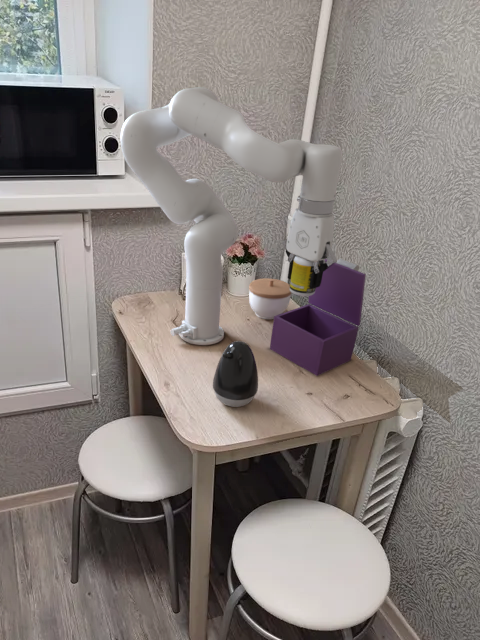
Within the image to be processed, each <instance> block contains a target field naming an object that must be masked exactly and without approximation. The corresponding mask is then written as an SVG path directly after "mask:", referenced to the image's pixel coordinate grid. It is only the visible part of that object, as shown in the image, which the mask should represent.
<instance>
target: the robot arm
mask: <svg viewBox="0 0 480 640" xmlns="http://www.w3.org/2000/svg"><path fill="white" fill-rule="evenodd" d="M190 136H193V137H195V138H198V139H199V140H202V141H204V142H205V143H207V144H210V145H211V146H213V147H215V148H217V149H219V150H221V151H223V152H224V153H225V154H226V155H227V156H228V157H229V158H230V159H231V160H233V162H234V163H236V164H237V165H238V166H240V167H241V168H242V169H244V170H246V171H248V172H249V173H252V174H254V175H256V176H258V177H260V178H262V179H264V180H266V181H268V182H271V183H277V184H278V183H284V182H287V181H289V180H291V179H293V178H295V177H299V176H302V180H301V185H300V186H301V187H300V194H299V195H298V196H297V197H296V201H297V202H298V208H295V209H294V212H293V215H292V217H291V220H290V224H289V228H288V233H287V238H286V239H284V240H283V241H282V245H283V248H284V251H285V254H286V256H287V262H288V263H289V265H288V272H287V279H288V280H291V275H292V269H293V262H294V258H295V256H296V255H297V256H299V257H302V258H304V259H307V260H309V261H312V262H313V266H314V272H312V274H311V280H310V286H309V287H310V288H311V289H314V288H317V287H319V286H320V284H321V281H322V275H323V271H326V269H328V268H329V267H330V266H332V265H333V264H335V263H337V261H338V259H337V257H336V256H335V253H334V251H333V249H332V248H333V241H334V233H335V232H334V231H335V230H334V229H335V215H334V214H333V211H334V205H335V200H336V194H337V190H338V184H339V179H340V172H341V168H342V167H341V166H342V161H343V150H342V148H341V147H340V146H338V145H333V144H327V143H317V144H316V143H311V142H309V141H305V140H301V139H296V138H290V139H286V140H284V141H281V142H276V141H274V140H272V139H270V138H268V137H266V136H263V135H262V134H260V133H258V132H256V131H255V130H254V129H252V128H251V127H250V126H249V125H248V124H247V122H246V119H245V116H244V114H243V113H242V111H240V110H238V109H235V108H233V107H231V106H228V105H227V104H225V103H222V102H220V100H219V97H218V95H216V93H215V92H214V91H212V90H211V89H210V88H208V87H205V86H198V87H187V88H183V89H180V90H179V91H177V92H176V93H175V94H174V95H173V96H172V98H171V99H170V102H169V103H168V104H166V105H164V106H162V107H155V108H150V109H149V108H148V109H144V110H140V111H136V112H134V113H132V114H131V115H130V116H128V117H127V118H126V119H125V121H124V123H123V124H122V127H121V131H120V138H119V139H120V141H119V143H120V149H121V153H122V156H123V159H124V161H125V162H126V164H127V166H128V167H129V168H130V169H131V172H133V173H134V175H135V176H136V177H137V178H138V180H140V182H141V183H142V184H143V186H144V187H145V189H146V190H147V191H148V193H149V194H150V196H151V198H153V200H154V201H155V203H156V204H157V205H158V207H159V208H160V209H161V211H162V212H163V213H164V215H165V216H166V217H167V218H168V220H170V222H172V223H173V224H175V225H179V226H180V225H185V224H188V223H190V222H192V221H194V224H193V225H192V226H191V227H190V228H189V230H188V231H187V232H186V234H185V237H184V243H183V248H184V256H185V267H186V268H185V269H186V270H185V271H186V274H185V275H186V276H185V278H186V279H185V308H184V311H185V312H184V319H183V320H181V324H180V325H179V326H177V327H174V328H171V329H170V331H169V333H170V335H171V337H175V336H178V335H179V337H180V338H181V339H182V340H183V341H184V342H187V343H188V344H192V345H196V346H210V345H214V344H217V343H219V342H221V341H222V340H223V339H224V337H225V330H224V329H223V328H222V326H220V320H221V319H220V318H221V304H222V292H223V277H224V276H223V275H224V273H223V263H222V254H223V253H224V252H225V251H227V250H228V249H229V248H231V247H232V246H233V245H234V244H235V243H236V241H237V240H238V235H239V228H238V224H237V222H236V220H235V218H234V217H233V215H232V214H231V213H230V211H229V210H228V208H227V207H226V205H225V204H224V202H223V201H222V200H221V198H220V197H219V196H218V195H217V193H216V192H215V190H214V189H213V188H212V186H210V184H208V183H207V182H206V181H204V180H202V179H199V178H189V179H186V180H185V179H184V178H183V177H182V176H181V175H180V173H179V172H178V171H177V169H176V168H175V166H174V165H173V164H172V163H171V161H170V160H169V159H168V158H166V157H165V156H164V155H162V154H161V153H160V151H159V150H158V148H162V147H164V146H169V145H171V144H174V143H177V142H179V141H180V140H184V139H185V138H188V137H190ZM325 259H327V261H326V262H325ZM319 261H320V266H319Z"/></svg>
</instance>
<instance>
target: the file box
mask: <svg viewBox="0 0 480 640" xmlns="http://www.w3.org/2000/svg"><path fill="white" fill-rule="evenodd" d="M359 327H360V326H357V325H355V324H353V323H351V322H348V321H346V320H344V319H342V318H340V317H338V316H336V315H333V314H331V313H329V312H327V311H325V310H323V309H320V308H318V307H316V306H314V305H312V304H310V303H308V304H305V305H302V306H300V307H297V308H294V309H292V310H288V311H284V312H283V313H282V314H279V315H277V316H274V319H273V323H272V329H271V338H270V344H269V350H271V351H272V352H274V353H276V354H277V355H279V356H282V357H283V358H285V359H286V360H288V361H290V362H291V363H294V364H295V365H296V366H299V367H301V368H302V369H304V370H306V371H307V372H309V373H311V374H313V375H315V376H316V377H318V376H320V375H323V374H325V373H327V372H329V371H331V370H334V369H336V368H338V367H340V366H342V365H344V364H347V363H348V362H350V361H352V359H353V354H354V350H355V349H354V348H355V345H356V341H357V336H358V332H359Z"/></svg>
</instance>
